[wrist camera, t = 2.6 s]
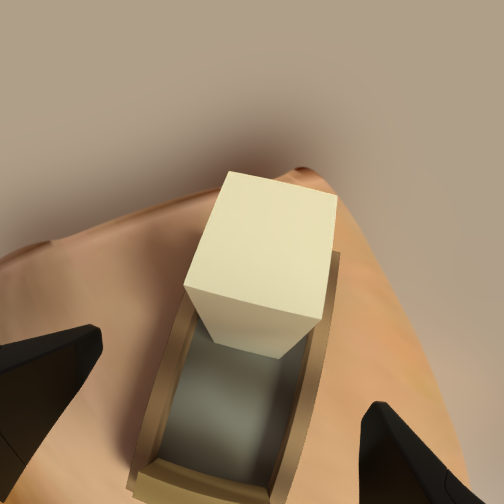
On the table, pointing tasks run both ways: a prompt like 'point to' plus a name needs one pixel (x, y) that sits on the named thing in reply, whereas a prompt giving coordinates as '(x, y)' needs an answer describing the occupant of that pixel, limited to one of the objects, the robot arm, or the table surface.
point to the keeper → (263, 264)
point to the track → (227, 415)
